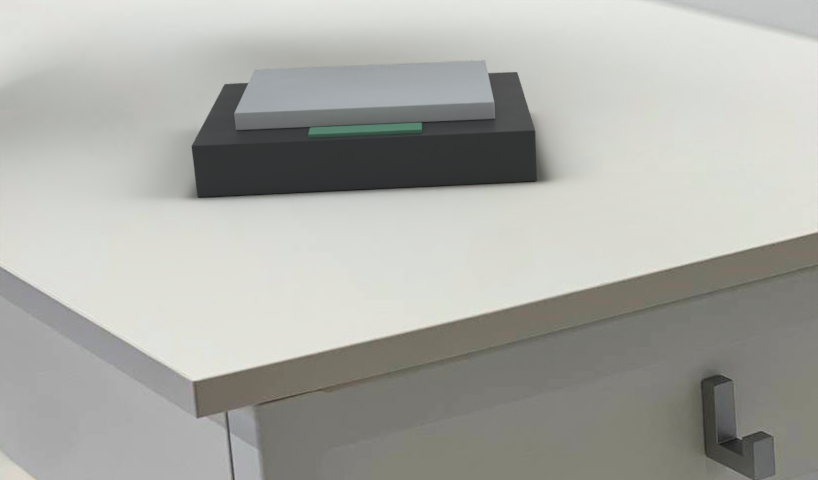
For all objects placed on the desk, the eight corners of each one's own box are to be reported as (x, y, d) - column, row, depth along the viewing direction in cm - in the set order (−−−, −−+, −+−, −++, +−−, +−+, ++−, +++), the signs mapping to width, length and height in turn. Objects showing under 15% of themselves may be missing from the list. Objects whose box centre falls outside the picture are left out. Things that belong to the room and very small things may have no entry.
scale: (197, 197, 86) (189, 126, 84) (229, 128, 100) (222, 67, 99) (537, 181, 87) (534, 111, 86) (519, 115, 102) (516, 55, 101)
